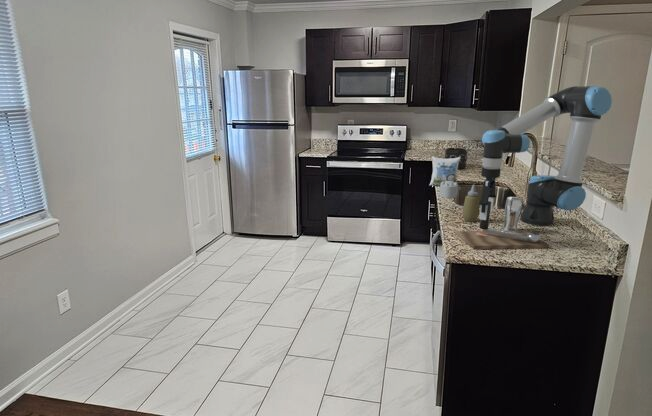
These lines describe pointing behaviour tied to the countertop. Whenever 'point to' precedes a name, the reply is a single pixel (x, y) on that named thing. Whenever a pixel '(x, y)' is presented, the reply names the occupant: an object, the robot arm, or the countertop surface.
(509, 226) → the beer glass
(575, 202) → the robot arm
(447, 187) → the lumpy-topped squat cylinder
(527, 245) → the lever board
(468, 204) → the squeeze bottle
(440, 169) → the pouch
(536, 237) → the lever
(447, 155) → the dark rounded-top box
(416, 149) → the countertop surface
